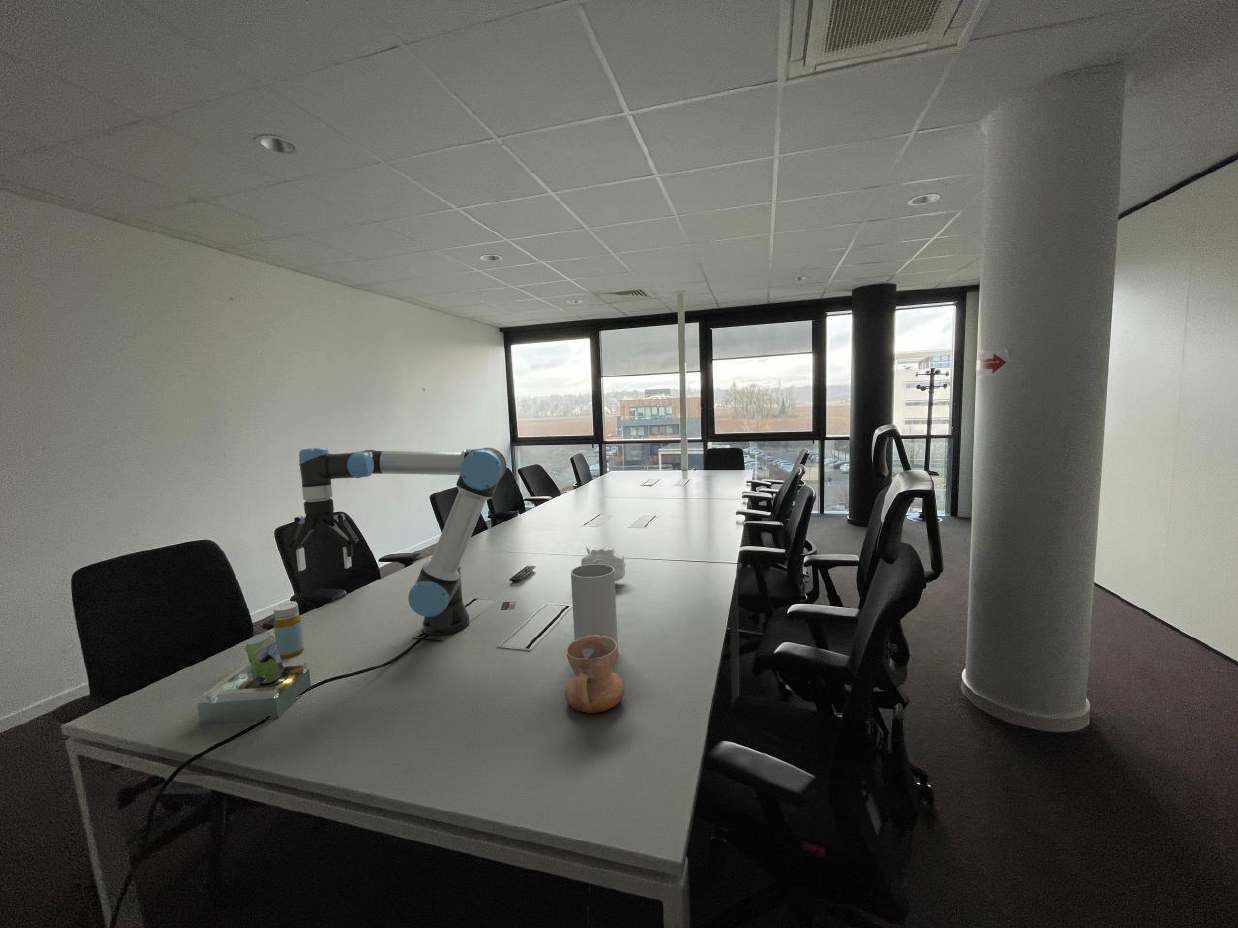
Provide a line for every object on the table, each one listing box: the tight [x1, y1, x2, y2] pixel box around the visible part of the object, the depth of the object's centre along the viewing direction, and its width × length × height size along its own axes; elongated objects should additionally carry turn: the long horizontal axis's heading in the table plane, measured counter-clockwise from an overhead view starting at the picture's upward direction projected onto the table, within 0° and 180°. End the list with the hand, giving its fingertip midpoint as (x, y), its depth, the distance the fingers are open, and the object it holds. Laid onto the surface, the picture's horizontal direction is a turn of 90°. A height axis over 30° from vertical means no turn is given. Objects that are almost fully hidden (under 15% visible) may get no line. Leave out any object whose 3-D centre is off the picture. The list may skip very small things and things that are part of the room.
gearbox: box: [197, 662, 312, 725], centre depth 125 cm, size 18×14×7 cm
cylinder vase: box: [570, 564, 619, 659], centre depth 143 cm, size 12×12×25 cm
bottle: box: [273, 602, 305, 659], centre depth 153 cm, size 7×7×15 cm
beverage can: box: [245, 632, 284, 684], centre depth 125 cm, size 6×7×12 cm
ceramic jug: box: [564, 635, 626, 714], centre depth 118 cm, size 18×14×14 cm
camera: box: [580, 545, 626, 582], centre depth 203 cm, size 11×18×16 cm, turn 80°
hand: (325, 568), depth 150 cm, fingers open, 13 cm apart
